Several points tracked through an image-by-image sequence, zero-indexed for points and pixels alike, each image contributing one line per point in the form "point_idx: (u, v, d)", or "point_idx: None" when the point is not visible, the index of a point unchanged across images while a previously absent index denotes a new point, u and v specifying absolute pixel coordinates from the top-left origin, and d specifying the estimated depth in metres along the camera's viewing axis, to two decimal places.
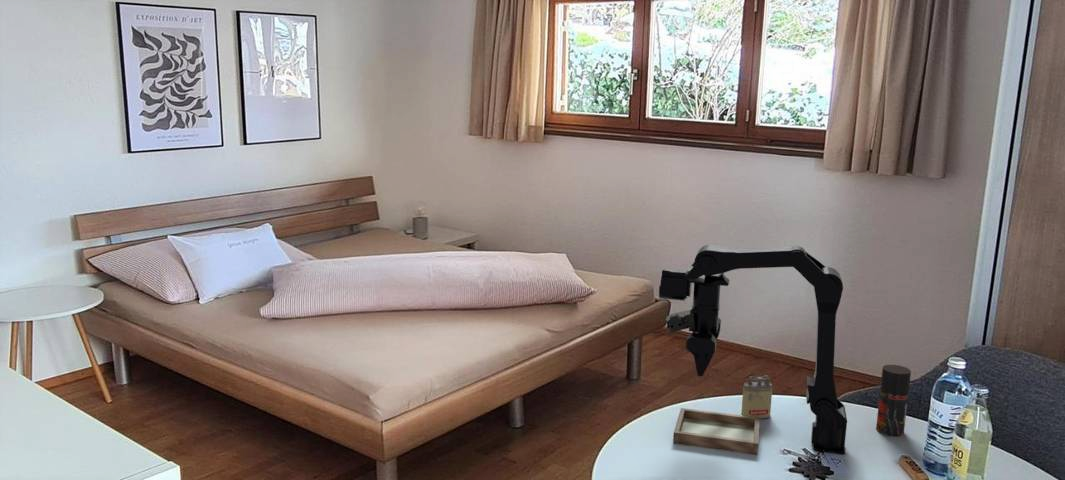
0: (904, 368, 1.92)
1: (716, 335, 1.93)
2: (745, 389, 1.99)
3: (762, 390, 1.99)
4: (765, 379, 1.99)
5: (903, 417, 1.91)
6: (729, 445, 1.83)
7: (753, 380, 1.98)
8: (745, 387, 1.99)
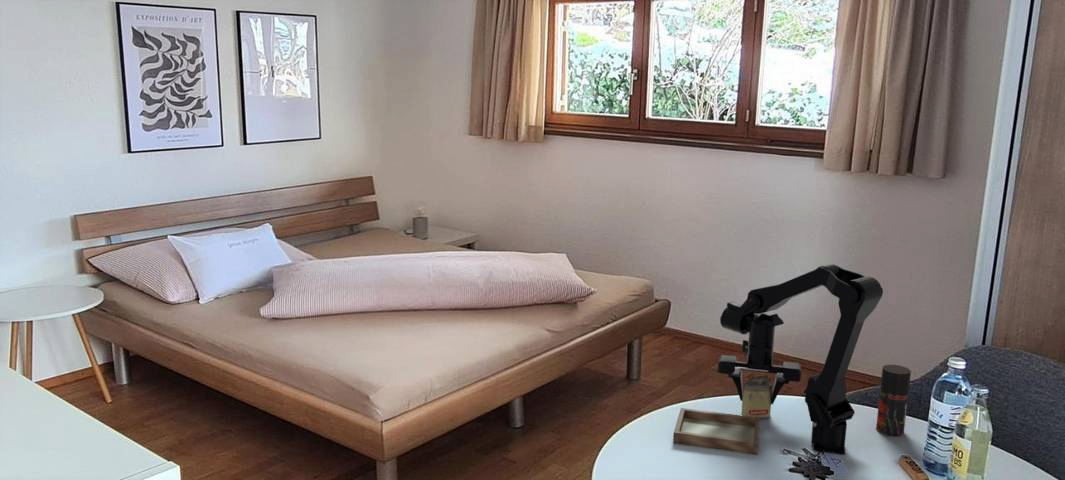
0: (904, 368, 1.92)
1: (776, 381, 1.96)
2: (745, 389, 1.99)
3: (762, 390, 1.99)
4: (765, 379, 1.99)
5: (903, 417, 1.91)
6: (729, 445, 1.83)
7: (753, 380, 1.98)
8: (745, 387, 1.99)
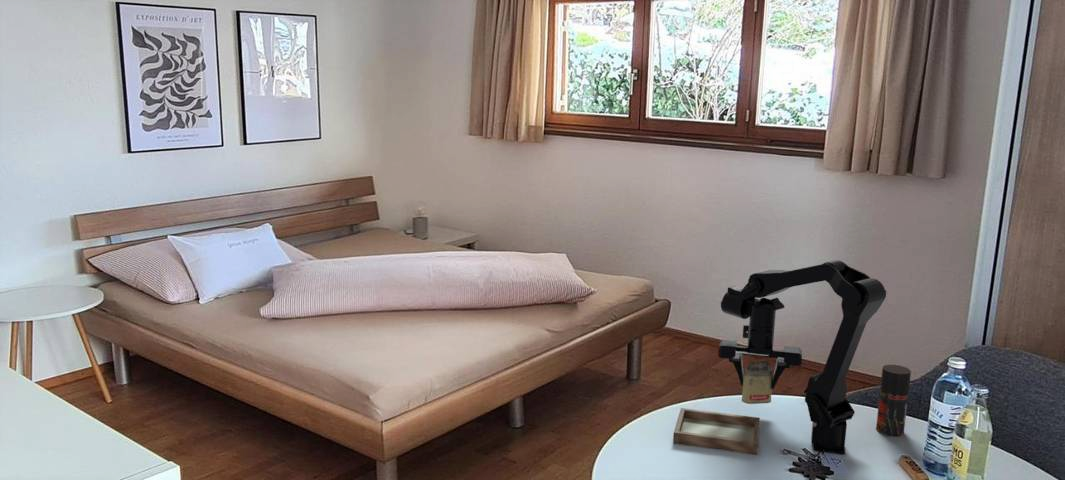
0: (904, 368, 1.92)
1: (776, 366, 1.96)
2: (746, 374, 1.98)
3: (763, 375, 1.98)
4: (766, 364, 1.98)
5: (903, 417, 1.91)
6: (729, 445, 1.83)
7: (754, 365, 1.98)
8: (746, 372, 1.98)
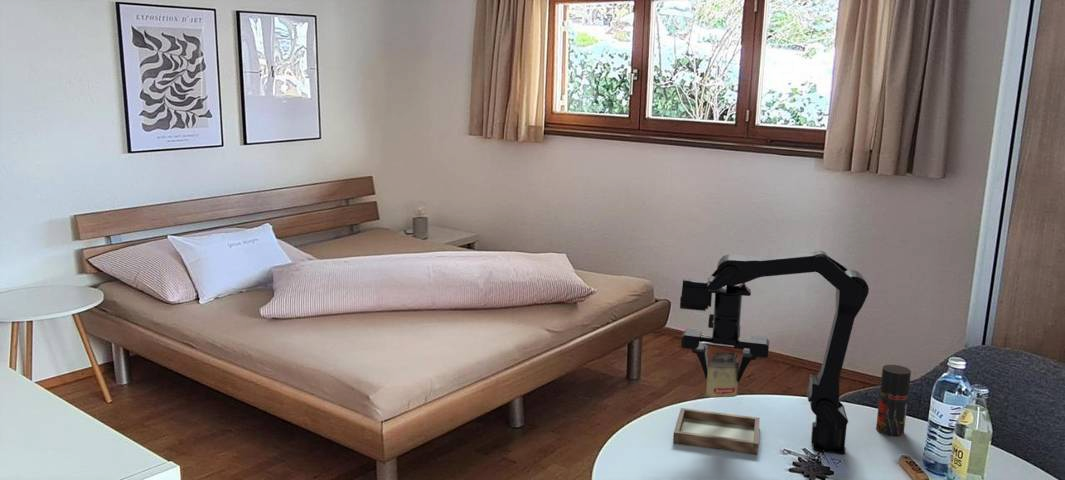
0: (904, 368, 1.92)
1: (742, 357, 1.84)
2: (710, 366, 1.87)
3: (728, 367, 1.87)
4: (731, 355, 1.87)
5: (903, 417, 1.91)
6: (729, 445, 1.83)
7: (718, 356, 1.86)
8: (710, 363, 1.87)
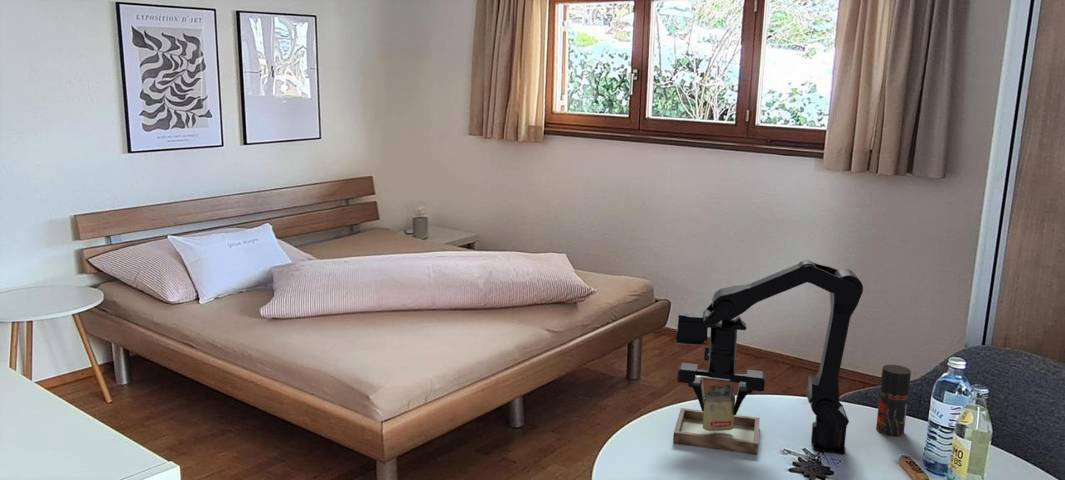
0: (904, 368, 1.92)
1: (738, 391, 1.85)
2: (706, 399, 1.88)
3: (724, 400, 1.87)
4: (727, 389, 1.87)
5: (903, 417, 1.91)
6: (729, 445, 1.83)
7: (715, 390, 1.87)
8: (706, 397, 1.88)
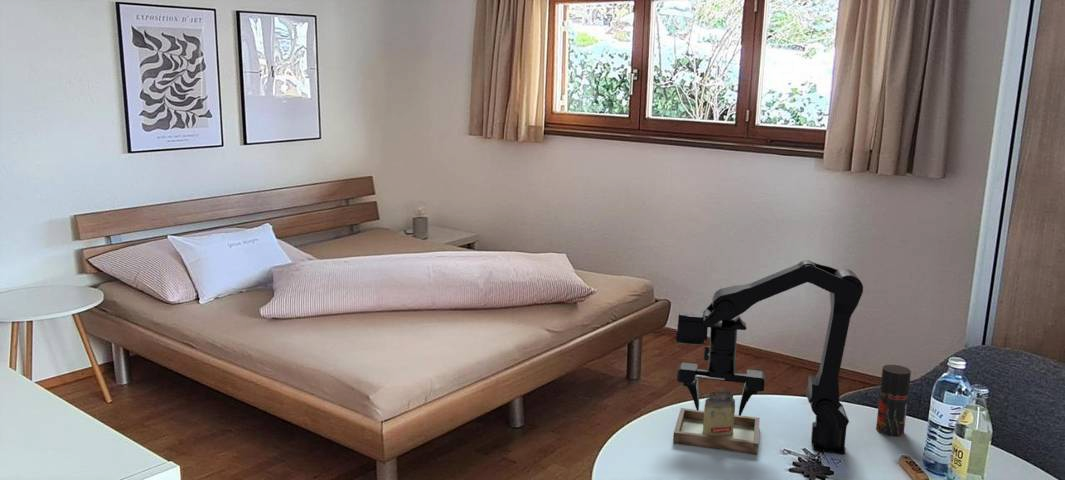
0: (904, 368, 1.92)
1: (743, 391, 1.84)
2: (707, 406, 1.88)
3: (725, 406, 1.87)
4: (728, 395, 1.87)
5: (903, 417, 1.91)
6: (729, 445, 1.83)
7: (715, 396, 1.87)
8: (707, 403, 1.87)
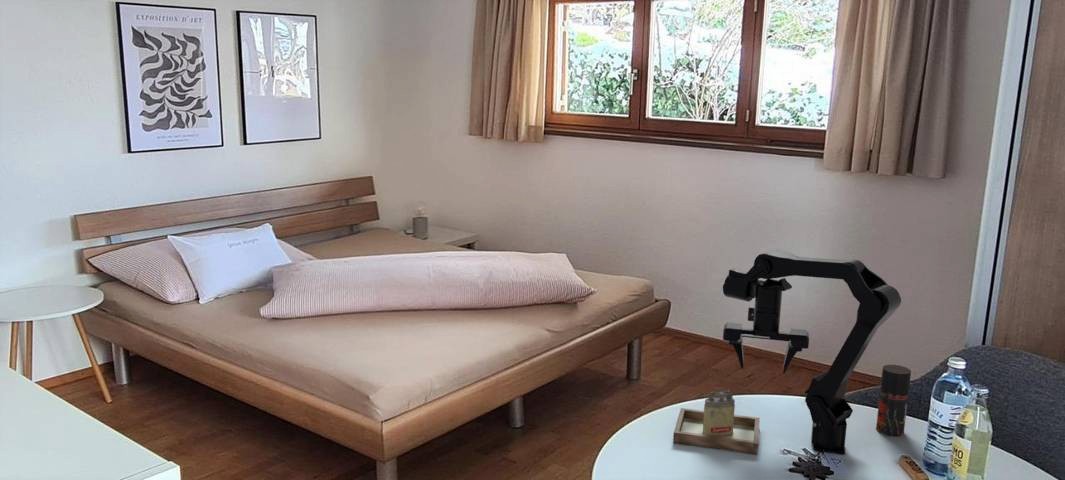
0: (904, 368, 1.92)
1: (788, 349, 1.90)
2: (706, 405, 1.88)
3: (724, 406, 1.87)
4: (727, 394, 1.88)
5: (903, 417, 1.91)
6: (729, 445, 1.83)
7: (715, 396, 1.87)
8: (706, 403, 1.88)
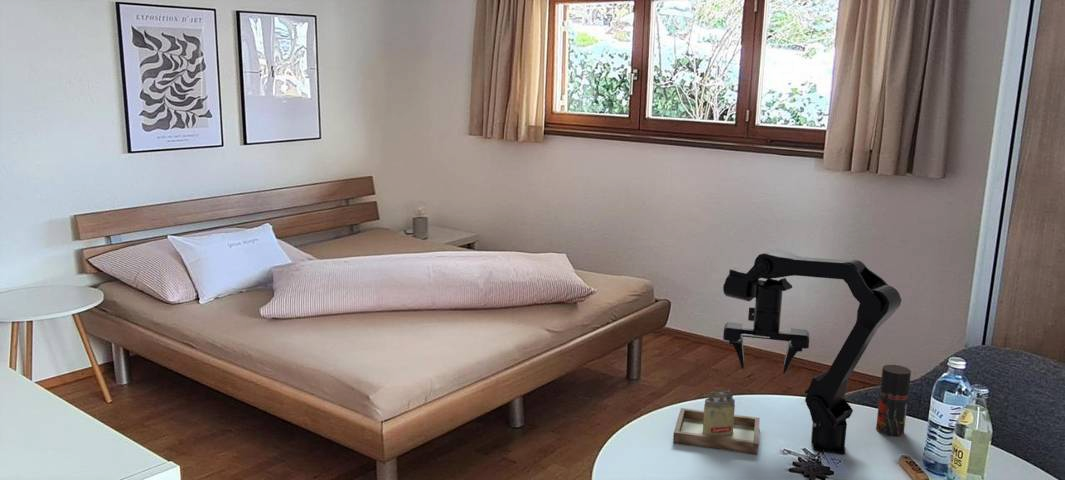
0: (904, 368, 1.92)
1: (788, 349, 1.90)
2: (707, 405, 1.88)
3: (724, 406, 1.87)
4: (727, 394, 1.88)
5: (903, 417, 1.91)
6: (729, 445, 1.83)
7: (715, 396, 1.87)
8: (706, 403, 1.88)
